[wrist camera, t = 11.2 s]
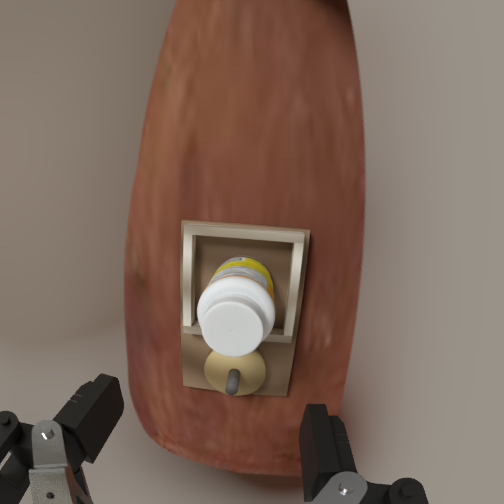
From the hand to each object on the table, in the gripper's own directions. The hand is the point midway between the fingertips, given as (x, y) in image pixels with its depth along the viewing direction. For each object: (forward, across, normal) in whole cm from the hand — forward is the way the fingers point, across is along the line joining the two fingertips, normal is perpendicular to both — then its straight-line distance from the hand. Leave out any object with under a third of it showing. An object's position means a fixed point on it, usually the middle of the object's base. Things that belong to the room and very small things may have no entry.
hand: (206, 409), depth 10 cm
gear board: (+18, 0, +4) cm, 19 cm away
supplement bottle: (+18, 0, 0) cm, 18 cm away
